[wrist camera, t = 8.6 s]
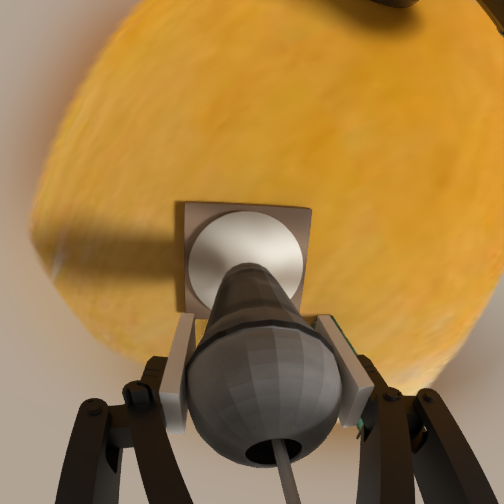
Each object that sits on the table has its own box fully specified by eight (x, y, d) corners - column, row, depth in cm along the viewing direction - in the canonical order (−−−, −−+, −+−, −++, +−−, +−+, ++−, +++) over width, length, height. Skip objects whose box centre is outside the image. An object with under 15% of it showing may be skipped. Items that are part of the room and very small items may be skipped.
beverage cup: (263, 227, 22) (402, 495, 2) (307, 298, 24) (425, 521, 4) (185, 276, 22) (102, 540, 3) (235, 340, 24) (251, 574, 5)
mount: (186, 201, 27) (183, 204, 25) (308, 208, 28) (314, 210, 26) (187, 312, 30) (185, 321, 28) (295, 315, 31) (299, 324, 29)
